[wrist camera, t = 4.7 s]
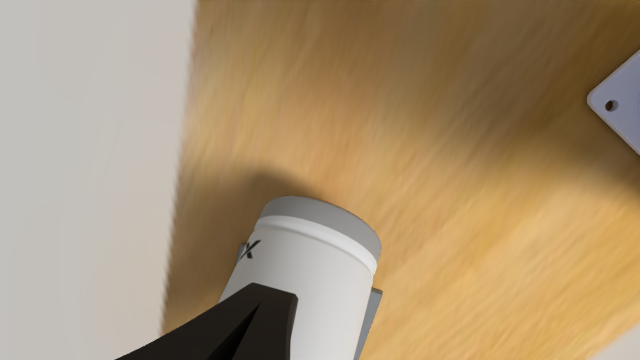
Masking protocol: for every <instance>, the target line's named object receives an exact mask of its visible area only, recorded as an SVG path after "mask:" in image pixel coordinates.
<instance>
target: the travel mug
mask: <svg viewBox="0 0 640 360" xmlns="http://www.w3.org/2000/svg"><path fill="white" fill-rule="evenodd" d="M381 248H382V247H381V241H380V239H379V237H378V235H377V234H376V233H375V231H374V230H373V229H372V228H371V227H370V226H369V225H368V224H367V223H365V222H364V221H363V220H362V219H360V218H359V217H357V216H356V215H354V214H352V213H351V212H349V211H347V210H345V209H343V208H341V207H338V206H336V205H333V204H331V203H328V202H325V201H321V200H318V199H314V198H309V197H303V196H281V197H277V198H274V199H272V200H270V201H269V202H267V203H266V205H265V206H264V208H263V210H262V212H261V214H260V217H259V219H258V221H257V223H256V225H255V227H254V232H253V233H252V234H251V236H250V237H249V240H248V242H247V244H246V246H245V248H244V250H243V252H242V254H241V256H240V258H239V260H238V262H237V265H236V267H235V269H234V271H233V273H232V275H231V277H230V279H229V281H228V283H227V285H226V288H225V290H224V292H223V294H222V296H221V298H220V300H219V302H218V303H220V302H222V301H223V300H225V299H226V298H228V297H229V296H231V295H232V294H234V293H236V292H237V291H239V290H240V289H242V288H243V287H245V286H247V285H248V284H250V283H252V282H254V283H258V284H261V285H265V286H269V287H272V288H276V289H279V290H283V291H287V292H290V293H294V294H296V296H297V297H298V299H299V300H298V305H297V310H296V315H295V320H294V325H293V330H292V336H291V346H290V360H353V359H354V355H355V351H356V347H357V343H358V339H359V335H360V331H361V327H362V323H363V320H364V316H365V312H366V308H367V304H368V300H369V296H370V292H371V288H372V284H373V275H374V274H375V272H376V268H377V264H378V260H379V256H380V252H381Z"/></svg>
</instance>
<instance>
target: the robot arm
mask: <svg viewBox="0 0 640 360" xmlns="http://www.w3.org/2000/svg"><path fill="white" fill-rule="evenodd" d="M608 101H612V103H613V106H612V108H611V110H609V111H607V110H606V108H605V105H606V103H607V102H608ZM587 104H588V105H589V107H590V108H591V109H592V110H593V111H594V112H595V113H596V114H597V115H599V116H600V117H601V118H602V119H603V120H604V121H605V122H606V123H607V124H608V125H609V126H610V127H611V128H612V129H613V130H614V131H615V132H616V133H617V134H618V135H619V136H620V137H621V138H622V139H623V140H624V141H625V142H626V143H627V144H628V145H629V146H630V147H631V148H632V149H633V150H634V151H635V152H636V153H638V154H639V155H640V50H638V51H637V52H636V53H635V54H634V55H633V56H631V57H630V58H629V59H628V60H627V61H626V62H624V63H623V64H622V65H621V66H620V67H619V68H617V69H616V70H615V71H614V72H613V73H612V74H610V75H609V76H608V77H607V78H606V79H605V80H603V81H602V82H601V83H600V84H599V85H598V86H596V87H595V88H594V89H593V90H592V91H591V92H590V93H589V94H588V97H587ZM298 300H299V299H298V297H297V296H296V294H294V293H290V292H287V291H283V290H279V289H276V288H272V287H269V286H265V285H261V284H258V283H254V282H252V283H250V284H248V285H247V286H245V287H243V288H242V289H240V290H239V291H237V292H236V293H234V294H232V295H231V296H229V297H228V298H226V299H225V300H223V301H222V302H220V303H218V304H217V305H215V306H214V307H212V308H210V309H209V310H207V311H205V312H204V313H202V314H201V315H199V316H197V317H196V318H194V319H192V320H191V321H189V322H187V323H186V324H184V325H182V326H180V327H178V328H177V329H175V330H173V331H171V332H169V333H167V334H166V335H164V336H162V337H160V338H158V339H156V340H155V341H153V342H151V343H149V344H147V345H145V346H143V347H141V348H139V349H137V350H135V351H133V352H131V353H129V354H126V355H124V356H122V357H120V358H118V359H115V360H290V346H291V336H292V330H293V325H294V320H295V315H296V310H297V305H298Z"/></svg>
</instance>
